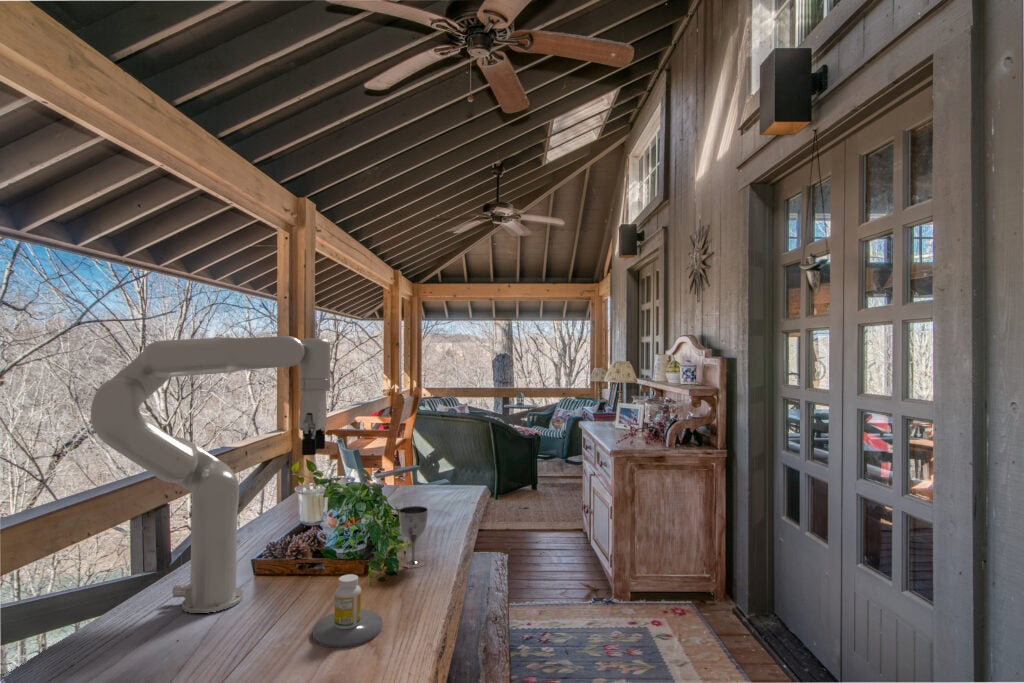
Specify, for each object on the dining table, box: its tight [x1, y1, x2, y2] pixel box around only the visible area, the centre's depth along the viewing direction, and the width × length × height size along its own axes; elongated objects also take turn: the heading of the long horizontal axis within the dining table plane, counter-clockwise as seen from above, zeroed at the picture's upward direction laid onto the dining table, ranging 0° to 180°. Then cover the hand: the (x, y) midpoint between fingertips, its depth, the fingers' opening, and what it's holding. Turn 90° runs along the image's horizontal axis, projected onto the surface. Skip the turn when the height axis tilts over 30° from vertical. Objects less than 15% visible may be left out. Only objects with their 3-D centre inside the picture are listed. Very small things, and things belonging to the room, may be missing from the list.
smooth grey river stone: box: [312, 609, 383, 649], centre depth 115 cm, size 14×14×1 cm
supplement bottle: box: [334, 573, 362, 629], centre depth 115 cm, size 5×5×10 cm
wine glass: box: [398, 505, 429, 565], centre depth 153 cm, size 8×8×15 cm
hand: (313, 451), depth 141 cm, fingers open, 9 cm apart
